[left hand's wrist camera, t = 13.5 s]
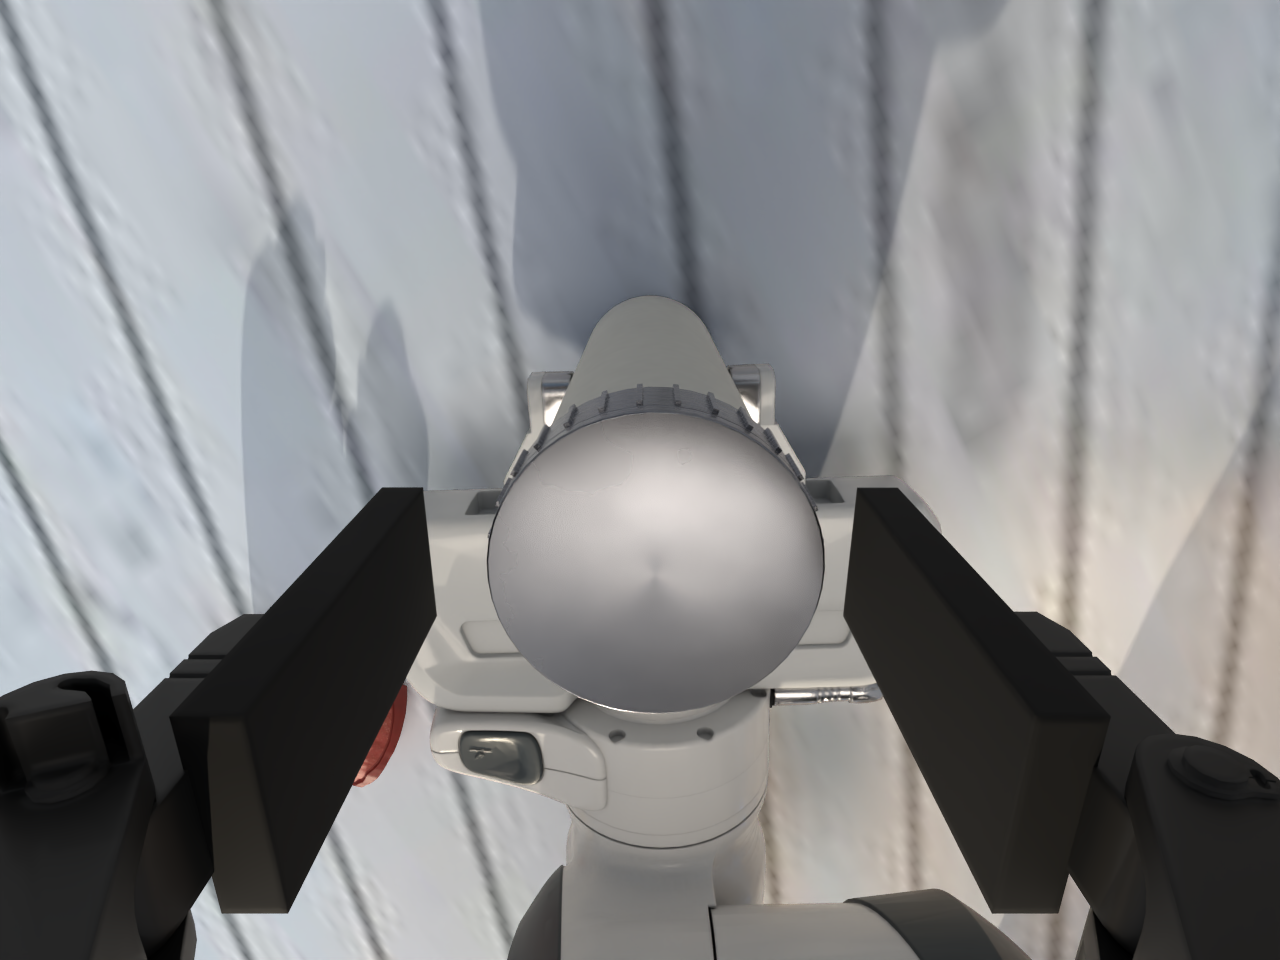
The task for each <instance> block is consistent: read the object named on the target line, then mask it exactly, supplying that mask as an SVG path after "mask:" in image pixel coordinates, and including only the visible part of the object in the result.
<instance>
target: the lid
mask: <svg viewBox="0 0 1280 960" xmlns="http://www.w3.org/2000/svg"><path fill="white" fill-rule="evenodd" d="M510 475H512V476H513V478H508V479H507V481H506V483H505V485H504V487H503V489H502V491H501V493H500V495H499V497H498V499H497V501H496V503H495V506H497V507H498V509H497V512H496V514H495V517H494V519H493V523H492V526H491V528H490V530H489V533H488V549H487V578H488V584H489V589H490V594H491V599H492V602H493V604H494V607H495V610H496V613H497V616H498V618H499V620H500V622H501V624H502V626H503V628H504V630H505V632H506V634H507V635H508V637H509V638H510V640H511V641H512V643H513V644H514V645H515V647H516V648H517V650H518V651H519V652H520V653H521V654H522V656H523V657H524V658H525V659H526V660H527V661H528V662H529V663H530V664H531V665H532V666H533V667H534V668H535V669H536V670H537V671H539V672H540V673H541V674H542V675H543V676H544V677H546V678H547V679H548V680H550V681H551V682H553V683H554V684H556V685H557V686H559V687H560V688H562V689H563V690H565V691H567V692H569V693H571V694H573V695H575V696H577V697H579V698H581V699H584V700H586V701H589V702H592V703H594V704H597V705H600V706H603V707H607V708H611V709H616V710H620V711H626V712H634V713H645V714H665V713H678V712H685V711H690V710H695V709H700V708H704V707H707V706H710V705H713V704H717V703H720V702H722V701H725V700H727V699H729V698H731V697H734V696H736V695H738V694H740V693H742V692H744V691H745V690H747V689H749V688H750V687H752V686H754V685H756V684H757V683H758V682H760V681H761V680H762V679H764V678H765V677H766V676H768V675H769V674H770V673H772V672H773V671H774V670H775V669H776V668H777V667H778V666H779V665H780V664H781V663H782V662H783V661H784V660H785V659H786V658H787V657H788V656H789V655H790V653H791V652H792V651H793V650H794V648H795V647H796V646H797V645H798V643H799V642H800V640H801V639H802V637H803V635H804V634H805V632H806V630H807V629H808V627H809V625H810V623H811V621H812V618H813V616H814V614H815V611H816V609H817V606H818V603H819V599H820V596H821V592H822V588H823V581H824V573H825V548H824V538H823V536H822V530H821V526H820V523H819V520H818V517H817V514H816V511H818V508H817V505H816V503H815V502H814V500H813V498H812V496H811V495H810V493H809V491H808V489H807V488H806V486H805V484H804V483H803V482H801V481H802V480H804V477H803V476H802V474H801V472H800V470H799V469H798V467H797V465H796V464H795V462H794V460H793V458H792V457H791V455H790V453H788V454H786V455H785V454H784V453H783V451H782V449H781V447H780V445H779V443H778V442H777V440H776V438H775V436H774V435H773V433H772V431H771V430H770V429H769V428H768V427H767V428H766V429H765V430H764V429H763V428H762V427H761V426H760V425H759V424H757V423H756V422H755V421H754V420H753V419H751V418H750V417H749V416H748V414H747V412H746V410H745V409H744V408H743V407H741V406H740V408H739V409H736V408H735V407H733V406H731V405H730V404H727V403H725V402H723V401H720V400H718V399H716V398H715V396H714V394H713V393H711V392H708V393H707V395H705V394H701V393H698V392H694V391H691V390H685V389H679V385H677V384H673V388H672V387H643V384H637V388H631V389H625V390H621V391H617V392H612V393H608V391H607V390H606V391H603V392H602V394H601V396H600V397H597V398H595V399H592V400H589V401H587V402H585V403H583V404H581V405H580V406H578V407H576V405H575V404H573V405H571V406H570V407H569V410H568V412H567V413H566V414H565V415H563V416H562V417H560V418H559V419H558V420H556V421H555V422H554V423H552V424H551V425H550V426H548V425H547V424H545V425H544V426H543V427H542V429H541V431H540V434H539V436H538V438H537V440H536V441H535V442H534V443H533V445H532V446H531V447H530V448H529V450H528V451H527V450H525V449H523V451H522V452H521V454H520V456H519V458H518V460H517V462H516V464H515V466H514V468H513V470H512V472H511V474H510Z"/></svg>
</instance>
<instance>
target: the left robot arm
mask: <svg viewBox="0 0 1280 960" xmlns="http://www.w3.org/2000/svg"><path fill="white" fill-rule="evenodd" d="M436 617H437V611H436V602H435V593H434V584H433V574H432V565H431V556H430V547H429V538H428V529H427V520H426V510H425V501H424V492H423V488H381V489H380V490H379V492H378V493H377V494H376V495H375V496H374V497H373V498H372V499H371V500H370V501H369V502H368V503H367V504H366V505H365V507H364V508H363V509H362V510H361V511H360V512H359V513H358V514H357V515H356V516H355V517H354V518H353V519H352V521H351V522H350V523H349V524H348V525H347V526H346V527H345V528H344V529H343V530H342V531H341V532H340V533H339V534H338V536H337V537H336V538H335V539H334V540H333V541H332V542H331V543H330V544H329V545H328V546H327V547H326V548H325V550H324V551H323V552H322V553H321V554H320V555H319V556H318V557H317V558H316V559H315V560H314V561H313V562H312V563H311V565H310V566H309V567H308V568H307V569H306V570H305V571H304V572H303V573H302V574H301V575H300V576H299V577H298V578H297V580H296V581H295V582H294V583H293V584H292V585H291V586H290V587H289V588H288V589H287V590H286V591H285V592H284V594H283V595H282V596H281V597H280V598H279V599H278V600H277V601H276V602H275V603H274V604H273V605H272V606H271V607H270V609H269V610H268V611H267V612H266V613H265V614H243V615H242V616H240V617H238V618H236V619H235V620H233V621H231V622H229V623H228V624H226V625H224V626H222V627H221V628H219V629H217V630H215V631H214V632H212V633H210V634H209V635H208V636H207V637H206V638H205V639H204V640H203V641H202V642H201V643H200V644H199V645H198V646H197V647H196V648H195V649H194V650H193V651H192V652H191V653H190V654H189V658H188V659H184V660H183V661H182V662H181V663H180V664H179V665H178V666H177V667H176V668H175V669H174V670H173V671H172V672H171V673H170V677H169V678H165V679H164V680H163V681H162V682H161V683H160V684H159V685H158V686H157V687H156V688H155V689H154V690H153V691H152V692H151V693H149V694H148V695H147V696H146V697H145V698H144V699H143V700H142V701H141V702H140V703H139V704H138V705H137V706H136V707H135V708H134V709H133V708H132V705H131V701H130V698H129V694H128V691H127V687H126V684H125V681H124V680H122V679H121V678H119V677H118V676H116V675H115V674H113V673H107V672H98V671H85V672H76V673H67V674H62V675H58V676H55V677H51V678H47V679H44V680H40V681H36V682H33V683H31V684H28V685H26V686H24V687H21V688H19V689H17V690H14V691H12V692H10V693H7V694H5V695H3V696H1V697H0V960H194V957H195V949H196V942H197V938H196V931H195V924H194V920H193V917H192V913H191V910H190V909H191V907H192V906H193V904H194V903H195V901H196V899H197V898H198V896H199V895H200V893H201V892H202V890H203V889H204V887H205V885H206V884H207V882H208V881H209V879H210V878H211V876H212V879H213V882H214V886H215V890H216V894H217V897H218V901H219V905H220V909H221V912H222V913H288V912H289V910H290V908H291V906H292V904H293V902H294V900H295V898H296V896H297V894H298V892H299V890H300V888H301V886H302V884H303V882H304V880H305V878H306V876H307V874H308V872H309V870H310V868H311V866H312V864H313V862H314V860H315V858H316V856H317V854H318V852H319V850H320V848H321V846H322V844H323V842H324V840H325V838H326V836H327V834H328V832H329V830H330V828H331V826H332V824H333V822H334V820H335V818H336V816H337V814H338V812H339V810H340V808H341V806H342V805H343V803H344V801H345V799H346V797H347V795H348V793H349V791H350V789H351V787H352V785H353V783H354V781H355V779H356V777H357V775H358V773H359V771H360V769H361V767H362V765H363V763H364V761H365V759H366V757H367V755H368V753H369V751H370V749H371V747H372V745H373V743H374V741H375V739H376V737H377V735H378V733H379V731H380V729H381V727H382V725H383V723H384V721H385V719H386V717H387V715H388V713H389V711H390V709H391V707H392V705H393V703H394V701H395V699H396V697H397V695H398V693H399V691H400V689H401V687H402V685H403V683H404V681H405V679H406V677H407V675H408V673H409V671H410V669H411V667H412V665H413V663H414V661H415V659H416V657H417V655H418V653H419V651H420V649H421V647H422V645H423V643H424V641H425V639H426V637H427V635H428V633H429V631H430V629H431V627H432V625H433V623H434V621H435V619H436ZM843 617H844V619H845V621H846V623H847V625H848V627H849V629H850V631H851V633H852V635H853V637H854V639H855V641H856V643H857V645H858V647H859V649H860V651H861V653H862V655H863V657H864V659H865V661H866V663H867V665H868V667H869V669H870V671H871V673H872V675H873V677H874V679H875V681H876V683H877V685H878V687H879V689H880V691H881V693H882V695H883V697H884V699H885V701H886V703H887V705H888V707H889V709H890V711H891V713H892V715H893V717H894V719H895V721H896V723H897V725H898V727H899V729H900V731H901V733H902V735H903V737H904V739H905V741H906V743H907V745H908V747H909V749H910V751H911V753H912V755H913V757H914V759H915V761H916V763H917V765H918V767H919V769H920V771H921V773H922V775H923V777H924V779H925V781H926V783H927V785H928V787H929V789H930V791H931V793H932V795H933V797H934V799H935V801H936V803H937V805H938V807H939V808H940V810H941V812H942V814H943V816H944V818H945V820H946V822H947V824H948V826H949V828H950V830H951V832H952V834H953V836H954V838H955V840H956V842H957V844H958V846H959V848H960V850H961V852H962V854H963V856H964V858H965V860H966V862H967V864H968V866H969V868H970V870H971V872H972V874H973V876H974V878H975V880H976V882H977V884H978V886H979V888H980V890H981V892H982V894H983V896H984V898H985V900H986V902H987V904H988V906H989V908H990V910H991V912H992V913H1058V912H1059V909H1060V905H1061V901H1062V897H1063V894H1064V890H1065V886H1066V882H1067V879H1068V875H1069V874H1070V875H1071V877H1072V878H1073V880H1074V882H1075V883H1076V885H1077V886H1078V888H1079V889H1080V891H1081V892H1082V894H1083V895H1084V897H1085V898H1086V900H1087V902H1088V903H1089V905H1090V910H1089V913H1088V917H1087V920H1086V924H1085V927H1084V930H1083V934H1082V937H1081V941H1080V944H1079V948H1078V951H1077V955H1076V958H1075V960H1280V780H1279V779H1278V778H1277V777H1276V776H1274V775H1273V774H1272V773H1270V772H1269V771H1268V770H1266V769H1265V768H1264V767H1262V766H1261V765H1259V764H1258V763H1257V762H1255V761H1254V760H1252V759H1250V758H1248V757H1246V756H1244V755H1242V754H1240V753H1238V752H1236V751H1234V750H1232V749H1230V748H1228V747H1226V746H1223V745H1220V744H1217V743H1214V742H1211V741H1208V740H1204V739H1201V738H1198V737H1194V736H1186V735H1179V734H1175V733H1174V732H1173V731H1172V730H1171V729H1170V728H1169V727H1168V726H1167V725H1166V724H1165V723H1164V722H1163V721H1162V720H1161V719H1160V718H1159V717H1158V716H1157V715H1156V714H1155V713H1154V712H1153V711H1152V710H1151V709H1149V708H1148V707H1147V706H1146V705H1145V704H1144V703H1143V702H1142V701H1141V700H1140V699H1139V698H1138V697H1137V696H1136V695H1135V694H1134V693H1133V692H1132V691H1131V690H1130V689H1129V688H1128V687H1127V686H1126V685H1125V684H1124V683H1123V682H1122V681H1121V680H1120V679H1119V678H1118V677H1117V676H1112V675H1111V670H1110V669H1109V668H1108V667H1107V666H1105V665H1104V664H1103V663H1102V662H1101V661H1100V660H1099V659H1098V658H1097V657H1093V656H1092V652H1091V651H1090V650H1089V649H1088V648H1087V647H1086V646H1085V645H1084V644H1083V643H1082V642H1081V641H1080V640H1079V639H1078V638H1077V637H1076V636H1075V635H1074V634H1073V633H1072V632H1071V631H1070V630H1068V629H1066V628H1064V627H1063V626H1061V625H1059V624H1057V623H1056V622H1054V621H1052V620H1050V619H1048V618H1047V617H1045V616H1043V615H1041V614H1040V613H1038V612H1013V611H1012V610H1011V609H1010V607H1009V606H1008V605H1007V604H1006V603H1005V602H1004V601H1003V600H1002V599H1001V598H1000V597H999V596H998V595H997V594H996V592H995V591H994V590H993V589H992V588H991V587H990V586H989V585H988V584H987V583H986V582H985V581H984V580H983V579H982V577H981V576H980V575H979V574H978V573H977V572H976V571H975V570H974V569H973V568H972V567H971V566H970V565H969V563H968V562H967V561H966V560H965V559H964V558H963V557H962V556H961V555H960V554H959V553H958V552H957V551H956V550H955V548H954V547H953V546H952V545H951V544H950V543H949V542H948V541H947V540H946V539H945V538H944V537H943V536H942V534H941V533H940V532H939V531H938V530H937V529H936V528H935V527H934V526H933V525H932V524H931V523H930V522H929V521H928V519H927V518H926V517H925V516H924V515H923V514H922V513H921V512H920V511H919V510H918V509H917V508H916V507H915V505H914V504H913V503H912V502H911V501H910V500H909V499H908V498H907V497H906V496H905V495H904V494H903V493H902V492H901V490H900V489H899V488H857V492H856V501H855V510H854V520H853V529H852V538H851V547H850V556H849V565H848V574H847V584H846V593H845V602H844V611H843Z"/></svg>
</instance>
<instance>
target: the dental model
mask: <svg viewBox="0 0 1280 960" xmlns="http://www.w3.org/2000/svg"><path fill="white" fill-rule="evenodd" d="M406 705H407V686H406V685H402V687H401V689H400V691H399V693H398V695H397V697H396V699H395V701H394V703H393V705H392V707H391V709H390V711H389V713H388V715H387V717H386V719H385V721H384V723H383V725H382V727H381V729H380V731H379V733H378V735H377V737H376V739H375V741H374V743H373V745H372V747H371V749H370V751H369V753H368V755H367V757H366V759H365V761H364V763H363V765H362V767H361V769H360V771H359V773H358V775H357V777H356V779H355V781H354V783H353V786H358V787H363V786H365V785H367V784H370V783H372V782H373V781H374V780H376V779H377V778H378V777H379V775H380V774H381V772H382V771H383V770H384V768H385V766H386V765H387V763H388V761H389V759H390V757H391V756H392V754H393V752H394V750H395V748H396V745H397V743H398V740H399V737H400V734H401V731H402V727H403V723H404V718H405V714H406Z"/></svg>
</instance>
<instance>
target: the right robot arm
mask: <svg viewBox="0 0 1280 960" xmlns="http://www.w3.org/2000/svg"><path fill="white" fill-rule="evenodd" d="M727 370H728V372H729V374H730V376H731V378H732V380H733V382H734V384H735V386H736V388H737V389H738V391H739V393H740V395H741V397H742V399H743V401H744V403H745V405H746V407H747V409H748V411H749V413H750V415H751V417H752V419H753V420H754V421H755V422H756V423H757V424H759V425H760V426H761V427H762V428H763V429H764V430H765V429H766V428H767V427H768V428H769V429H770V430H771V431H772V433H773V435H774V436H775V438H776V440H777V442H778V443H779V445H780V447H781V449H782V451H783V453H784V454H785V455H786V454H788V453H790V455H791V457H792V458H793V460H794V462H795V464H796V465H797V467H798V469H799V470H800V472H801V474H802V476H803V477H804V480H802V481H801V482H803V483H804V484H805V486H806V488H807V489H808V491H809V493H810V495H811V496H812V498H813V500H814V502H815V503H816V505H817V508H818V511H816V514H817V517H818V520H819V523H820V526H821V530H822V536H823V538H824V548H825V573H824V581H823V588H822V592H821V596H820V599H819V603H818V606H817V609H816V611H815V614H814V616H813V618H812V621H811V623H810V625H809V627H808V629H807V630H806V632H805V634H804V635H803V637H802V639H801V640H800V642H799V643H798V645H797V646H796V647H795V648H794V650H793V651H792V652H791V653H790V655H789V656H788V657H787V658H786V659H785V660H784V661H783V662H782V663H781V664H780V665H779V666H778V667H777V668H776V669H775V670H774V671H773V672H772V673H770V674H769V675H768V676H766V677H765V678H764V679H762V680H761V681H760V682H758V683H757V684H756V685H754V686H752V687H750V688H749V689H747V690H745V691H744V692H742V693H740V694H738V695H736V696H734V697H731V698H729V699H727V700H725V701H722V702H720V703H717V704H713V705H710V706H707V707H704V708H700V709H695V710H690V711H685V712H678V713H665V714H645V713H634V712H626V711H620V710H616V709H611V708H607V707H603V706H600V705H597V704H594V703H592V702H589V701H586V700H584V699H581V698H579V697H577V696H575V695H573V694H571V693H569V692H567V691H565V690H563V689H562V688H560V687H559V686H557V685H556V684H554V683H553V682H551V681H550V680H548V679H547V678H546V677H544V676H543V675H542V674H541V673H540V672H539V671H537V670H536V669H535V668H534V667H533V666H532V665H531V664H530V663H529V662H528V661H527V660H526V659H525V658H524V657H523V656H522V654H521V653H520V652H519V651H518V650H517V648H516V647H515V645H514V644H513V643H512V641H511V640H510V638H509V637H508V635H507V634H506V632H505V630H504V628H503V626H502V624H501V622H500V620H499V618H498V616H497V613H496V610H495V607H494V604H493V602H492V599H491V594H490V589H489V584H488V578H487V549H488V533H489V530H490V528H491V526H492V523H493V519H494V517H495V514H496V512H497V509H498V507H497V506H495V503H496V501H497V499H498V497H499V495H500V493H501V491H502V489H503V488H494V489H464V490H432V491H423V492H424V501H425V510H426V520H427V529H428V538H429V547H430V556H431V565H432V574H433V584H434V593H435V602H436V611H437V617H436V619H435V621H434V623H433V625H432V627H431V629H430V631H429V633H428V635H427V637H426V639H425V641H424V643H423V645H422V647H421V649H420V651H419V653H418V655H417V657H416V659H415V661H414V663H413V665H412V667H411V669H410V671H409V673H408V675H407V677H406V678H407V680H408V681H409V683H410V684H411V685H412V687H413V688H414V689H415V690H416V691H417V692H418V693H419V694H420V695H421V696H422V697H423V698H425V699H426V700H427V701H429V702H431V703H433V704H435V705H437V707H436V710H435V713H434V718H433V722H432V727H431V732H430V746H431V752H432V755H433V757H434V759H435V761H436V762H437V763H438V764H439V765H440V766H442V767H443V768H445V769H447V770H450V771H453V772H456V773H460V774H464V775H469V776H473V777H478V778H482V779H487V780H491V781H495V782H499V783H503V784H507V785H510V786H514V787H518V788H521V789H524V790H528V791H531V792H534V793H537V794H540V795H543V796H546V797H549V798H551V799H554V800H556V801H559V802H561V803H564V804H566V807H567V809H568V811H569V814H570V817H571V821H572V822H571V825H570V829H569V832H568V837H567V845H566V866H563V865H561V866H560V867H559V868H558V869H557V870H556V871H555V872H554V873H553V874H552V875H551V877H550V878H549V879H548V880H547V882H546V883H545V884H544V886H543V887H542V889H541V890H540V892H539V893H538V895H537V896H536V898H535V899H534V901H533V903H532V904H531V906H530V907H529V909H528V910H527V912H526V914H525V915H524V917H523V918H522V920H521V921H520V923H519V926H518V928H517V930H516V933H515V936H514V939H513V942H512V945H511V948H510V951H509V955H508V959H507V960H1031V959H1030V957H1029V956H1028V955H1027V954H1025V953H1024V952H1023V951H1022V950H1021V949H1020V948H1019V947H1018V946H1017V945H1016V944H1015V943H1014V942H1013V941H1012V940H1011V939H1009V938H1008V937H1007V936H1006V935H1005V934H1004V933H1002V932H1001V931H1000V930H999V929H998V928H996V927H995V926H994V925H993V924H991V923H990V922H989V921H987V920H986V919H985V918H983V917H982V916H981V915H979V914H978V913H977V912H975V911H974V910H973V909H971V908H970V907H968V906H967V905H965V904H964V903H962V902H961V901H959V900H958V899H956V898H955V897H953V896H952V895H951V894H949V893H947V892H945V891H943V890H940V889H927V890H919V891H910V892H902V893H894V894H886V895H877V896H869V897H861V898H853V899H847V900H846V901H845V902H843V903H811V904H763V900H764V886H765V870H766V849H765V839H764V834H763V830H762V827H761V824H760V821H759V818H758V814H759V812H760V810H761V807H762V805H763V802H764V799H765V795H766V791H767V784H768V766H769V729H770V713H769V712H770V708H772V705H774V706H775V705H808V704H817V703H823V702H830V701H832V702H833V701H837V700H838V701H848V702H849V703H869V702H875V701H878V700H881V699H882V698H883V695H882V693H881V691H880V689H879V687H878V685H877V683H876V681H875V679H874V677H873V675H872V673H871V671H870V669H869V667H868V665H867V663H866V661H865V659H864V657H863V655H862V653H861V651H860V649H859V647H858V645H857V643H856V641H855V639H854V637H853V635H852V633H851V631H850V629H849V627H848V625H847V623H846V621H845V619H844V617H843V611H844V602H845V593H846V584H847V574H848V565H849V556H850V547H851V538H852V529H853V520H854V510H855V501H856V492H857V488H899V489H900V490H901V492H902V493H903V494H904V495H905V496H906V497H907V498H908V499H909V500H910V501H911V502H912V503H913V504H914V505H915V507H916V508H917V509H918V510H919V511H920V512H921V513H922V514H923V515H924V516H925V517H926V518H927V519H928V521H929V522H930V523H931V524H932V525H933V526H934V527H935V528H936V529H937V530H938V531H939V532H940V533H941V534H942V531H941V526H940V523H939V521H938V519H937V517H936V515H935V514H934V512H933V511H932V510H931V508H930V507H929V506H928V504H927V503H926V502H925V501H924V500H923V498H922V497H921V496H920V495H919V494H918V493H917V492H915V491H914V490H913V489H912V488H911V487H910V486H909V485H908V484H907V483H905V482H904V481H903V480H902V479H900V478H898V477H896V476H886V475H885V476H857V477H826V478H805V474H806V472H805V470H804V468H803V466H802V465H801V463H800V461H799V459H798V458H797V456H796V454H795V452H794V451H793V449H792V447H791V445H790V444H789V442H788V440H787V439H786V437H785V435H784V433H783V432H782V430H781V428H780V426H779V425H778V423H777V421H776V420H775V374H774V369H773V368H772V367H771V366H770V364H745V365H728V366H727ZM573 374H574V372H573V371H559V372H546V371H545V372H532V373H531V375H530V376H529V378H528V382H527V398H528V408H529V419H530V428H529V430H528V432H527V434H526V436H525V438H524V440H523V442H522V444H521V446H520V448H519V450H518V452H517V455H516V457H515V459H514V461H513V463H512V465H511V467H510V469H509V471H508V473H507V475H506V477H505V479H504V481H503V482H504V485H505V483H506V481H507V479H508V478H513V476H512V475H510V474H511V472H512V470H513V468H514V466H515V464H516V462H517V460H518V458H519V456H520V454H521V452H522V451H523V449H525V450H527V451H528V450H529V448H530V447H531V446H532V445H533V443H534V442H535V441H536V440H537V438H538V436H539V434H540V431H541V429H542V427H543V426H544V425H545V424H547V425H548V426H550V425H551V424H552V422H553V420H554V417H555V415H556V413H557V411H558V408H559V406H560V404H561V402H562V399H563V397H564V395H565V393H566V390H567V388H568V386H569V383H570V381H571V379H572V377H573Z"/></svg>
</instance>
